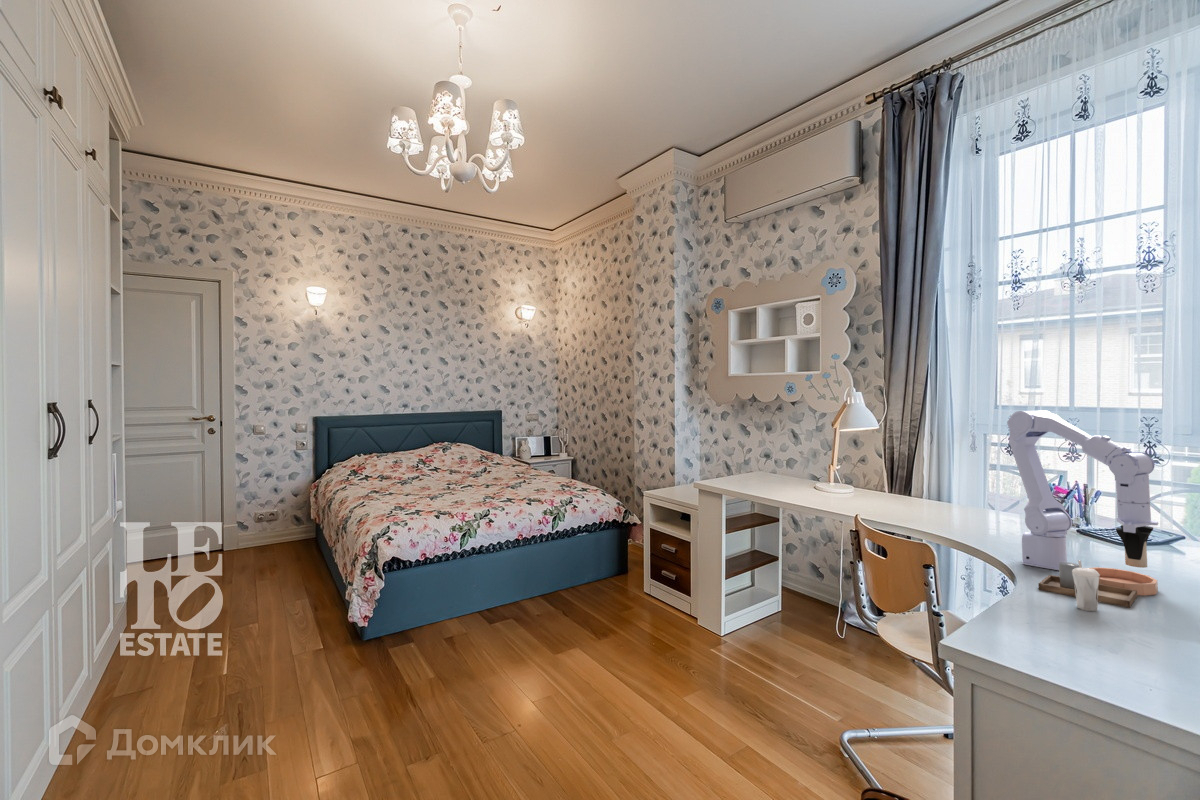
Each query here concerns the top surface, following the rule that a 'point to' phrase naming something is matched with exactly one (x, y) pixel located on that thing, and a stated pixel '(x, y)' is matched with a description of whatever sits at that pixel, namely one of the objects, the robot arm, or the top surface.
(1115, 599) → the tray
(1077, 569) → the milkshake
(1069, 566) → the grey cylinder
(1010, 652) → the top surface
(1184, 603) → the top surface
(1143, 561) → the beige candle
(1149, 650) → the top surface
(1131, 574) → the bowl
